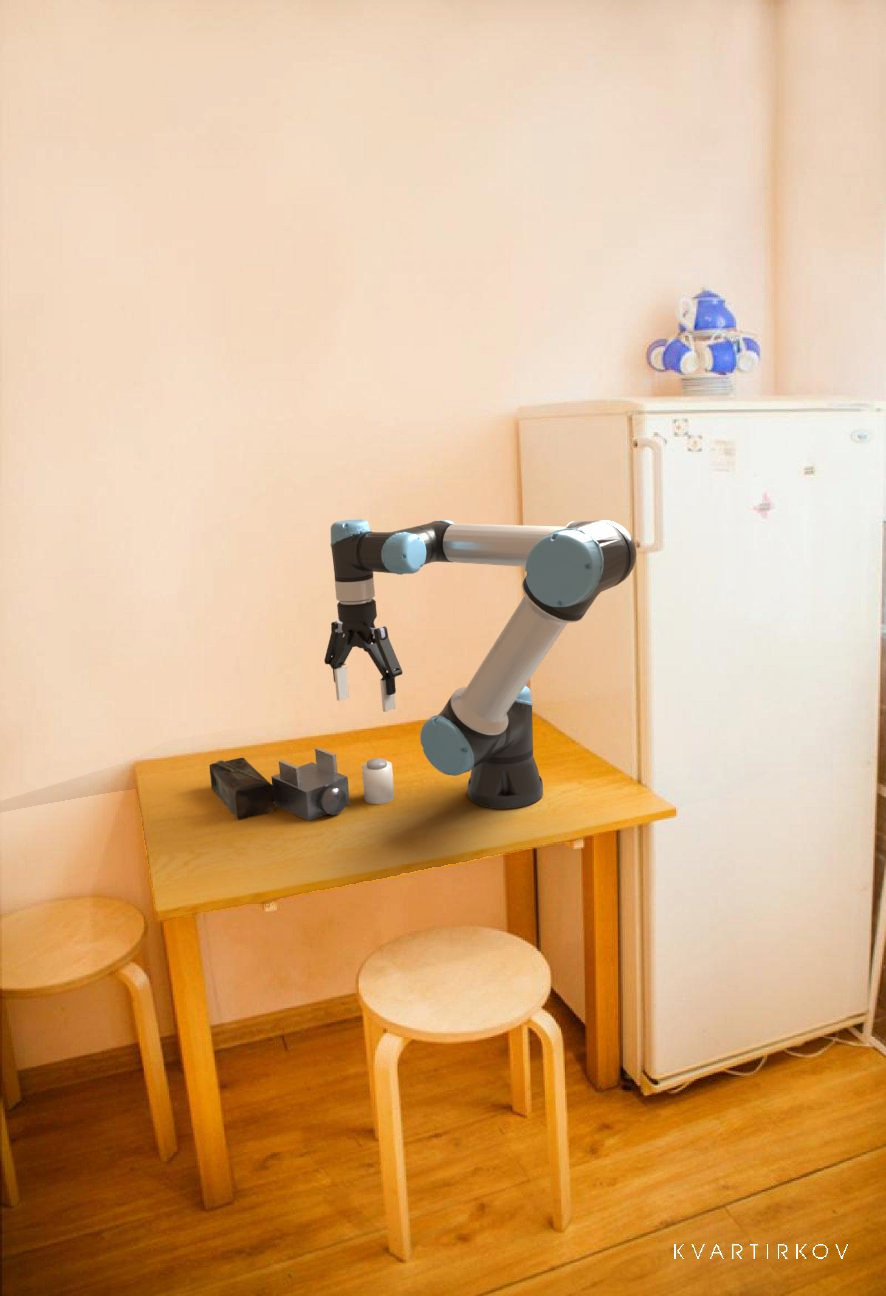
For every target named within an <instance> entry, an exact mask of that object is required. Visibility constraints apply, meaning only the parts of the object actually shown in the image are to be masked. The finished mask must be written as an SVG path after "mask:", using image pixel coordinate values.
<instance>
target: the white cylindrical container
mask: <svg viewBox="0 0 886 1296" xmlns="http://www.w3.org/2000/svg"><path fill="white" fill-rule="evenodd" d="M361 771H362V772H361V773H362V783H363V796H364V801H365V802H366V803H368V804H371V805H383V804H387V803H389V802H390V803H391V802H392V801H393V800H394V799H395V791H394V789H395V788H394V776H393V775H394V774H393V772H394V771H393V764H392V762H391V761H388V760H386V759H385V758H381V757H380V758H378V757H377V758H371V759H369V760H367V761H366V762H365V763H364V764H362V766H361Z"/></svg>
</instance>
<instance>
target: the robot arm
mask: <svg viewBox="0 0 886 1296" xmlns="http://www.w3.org/2000/svg"><path fill="white" fill-rule="evenodd" d="M330 548H331V556H332V563H333V572H334V573H333V575H334V587H335V588H334V589H335V597H336V598H335V599H336V600H337V601H338V603H337V604H336V607H337V617H338V620H336V621H332V622H331V625H330V626H331V629H330V631H331V633H330V636H329V640H328V645H327V649H326V653H325V656H324V664H325V665H329V666H330V668H331V669H332V674H333V675H332V676H333V682H334V683H335V692H336V701H339V702H340V701H344V700H347V699H348V698H350V690H349V688H350V687H349V682H348V680H349V679H348V670H347V666H346V663H345V662H346V660H347V659H348V657H349V655H350V653H351V652H352V650H353V648H355V647H357V648H358V649H362V650H363V651H364V652H366V653H368V655H369V657H370V659H371V660H372V662H373V663H374V665H375V666H376V668H377V670H378V671H379V673H380V675H381V678H380V679H379V681H380V682H379V683H380V693H381V701H382V702H381V703H382V712H385V713H387V712H389V711H392V710H395V709H396V698H395V697H396V696H395V694H396V692H397V689H396V677H399V676H401V675H403V670H402V667H401V665H400V662H399V659H398V658H397V655H396V653H395V650H394V647H393V645H392V643H391V641H390V637H389V631H388V628H387V626H381V627H376V625H375V621H376V619H377V617H378V612H377V611H378V610H377V602H376V600H375V599H374V597H376V593H375V592H376V591H375V584H374V583H375V580H374V573H386V574H396V575H400V576H401V575H407V574H408V575H410V574H416V573H418V572H419V571H420V570H421V568H422V567H423V566H425V565H427V564H431V563H437V562H438V563H439V562H440V563H456V564H457V563H460V564H474V565H475V564H476V565H491V566H492V565H493V566H504V567H505V566H509V567H521V568H522V567H523V568H524V571H525V572H526V575H525V577H524V579H523V580H522V584H521V587H522V591H523V594H524V595H523V598H522V599H521V600H520V603H519V604H518V605H517V607H516V608H515V610H514V612H512V615H511V616H510V618H509V619H508V622H507V623H506V624H505V626H504V627H503V629H502V631H501V632H500V634H499V635H498V637H497V638H496V640H495V642H494V643H493V644H492V645H493V646H491V648H490V650H489V652H488V653H487V654H486V656H485V658H484V659H483V661H482V662H481V664H480V666H479V667H478V668H477V670H476V672H475V674H474V675H473V676H472V678H471V680H470V681H469V683H468V685H467V686H464V687H459V688H458V689H455V691H454V692H452V694H451V696H450V698H448V700H447V703H446V704H445V706H444V707H443V708H442V710H441V711H440V712H439V713H438V714H437V715H433V716H430V717H429V719H427V720H426V721H425V722H424V723H423V725H422V727H421V730H420V736H419V737H420V744H421V746H422V751H423V754H424V755H425V757H426V759H427V761H428V762H429V763H430V765H431V766H432V767H433V768H435V770H437V771H438V772H439V773H442V774H444V775H446V776H456V777H457V776H460V775H462V774H465V773H468V772H469V773H470V777H469V779H468V782H467V797H468V798H469V800H470V801H472V803H475V804H476V805H479V806H482V807H486V808H491V809H501V810H503V809H516V808H517V809H518V808H521V807H526V806H529V805H532V804H534V803H536V802H538V801H539V800H540V799H542V797H543V796H544V782H543V779H542V777H541V776H540V772H539V769H538V766H537V763H536V760H535V758H534V740H533V739H534V737H533V736H534V733H533V732H534V731H533V723H534V722H533V706H534V703H533V702H532V701H533V700H532V698H533V697H532V691H531V689H530V688H529V687H528V686H527V684H528V682H529V681H530V680H531V678H532V676H533V675H534V673H535V672H536V671H537V669H538V668H539V666H540V664H541V663H542V662H543V660H544V659H545V657H546V656H547V654H548V653H549V652H550V650H551V649H552V648H553V645H554V644H555V642H556V641H557V639H558V638H559V636H560V635H561V633H563V630H565V628H566V627H567V625H568V624H569V623H570V624H571V623H577V622H579V621H581V620H582V619H583V617H584V616H585V614H587V612H588V611H589V609H590V608H591V606H592V604H593V603H594V602H595V600H596V598H598V596H599V595H600V594H601V593H603V592H605V591H607V590H609V589H611V588H613V587H616V586H618V585H620V584H621V583H623V582H624V581H625V580H626V579H627V578H628V577H629V576H630V575H631V573H632V571H633V569H634V567H635V564H636V562H637V559H636V558H637V547H636V543H635V540H634V538H633V536H632V535H631V533H630V531H628V529H626V528H625V527H624V526H623V525H621V524H619V523H618V522H615V521H613V520H608V519H598V520H589V521H588V520H587V521H586V520H585V521H584V520H583V521H582V520H581V521H580V520H579V521H577V520H575V521H574V520H573V521H570V522H569V523H568V524H567V525H565V526H556V525H555V526H553V525H550V526H549V525H546V526H545V525H523V524H522V525H521V524H518V525H515V524H513V525H512V524H510V525H509V524H488V523H486V524H484V523H483V524H482V523H455V522H454V521H452V520H448V519H447V520H446V519H444V520H434V521H431V522H429V523H426V524H421V525H415V526H412V527H408V528H404V529H400V530H394V531H391V532H390V531H387V532H386V531H385V532H384V531H382V532H381V531H379V532H378V531H371V528H370V524H369V522H368V521H367V520H366V519H359V518H358V519H344V520H339V521H335V522H333V523H332V524H331V525H330Z"/></svg>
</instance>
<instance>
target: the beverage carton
mask: <svg viewBox="0 0 886 1296" xmlns="http://www.w3.org/2000/svg"><path fill="white" fill-rule="evenodd" d="M209 776H210V777H209V778H210V782H211V783H210V784H211V790H212V791H213V792H214V793H215V794H216V795H217V797H218V799H220V800H221V802H222V803H223V804H224V806H226V808H228V810H229V811H230V812H231V813H232V814H233V816H234V817H235V818H236V819H237V820H239V821H240V820H243V819H244V820H245V819H248V818H252V817H258V816H261V815H267V814H269V813H273V812H275V804H274V798H273V786H272V783H271V782H269V781H268V780H267V779H266V778H265V776H263V774H261V773H260V772H258V770H257V769H256V768H255V767H253V765H251V763H249V762H248V760H246V758H245V757H239V758H234V759H229V760H217V761H216V762H214V763H211V764H210V765H209Z"/></svg>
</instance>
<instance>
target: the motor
mask: <svg viewBox="0 0 886 1296" xmlns="http://www.w3.org/2000/svg"><path fill="white" fill-rule="evenodd" d="M314 752H315V762H312V761H311V762H309V763H305V764H303V765H299V766H298V765H294V764H292V763H290V762H287V761H285V760H282V759H281V760H279V761H278V767H279V773H278V774H274V775H272V776H271V777H270V778H271V785H272V786H273V798H274V806H277V807H278V808H281V809H282V810H285V811H287V812H289V813H291V814H294V815H295V816H298V817H299V818H301V819H304V820H306V821H307V822H310V821H313V820H315V819H317V818H321V817H322V816H325V815H331V816H335V815H338V814H340V813H342V811H343V810H344V808H345V807H347V806H350V803H351V802H350V791H349V777H348V776H347V775H345V774H342V773H339V772H338V761H337V754H336V753H333V752H330V751H327V750H325V749H323V748H320V747H316V748H314Z"/></svg>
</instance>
